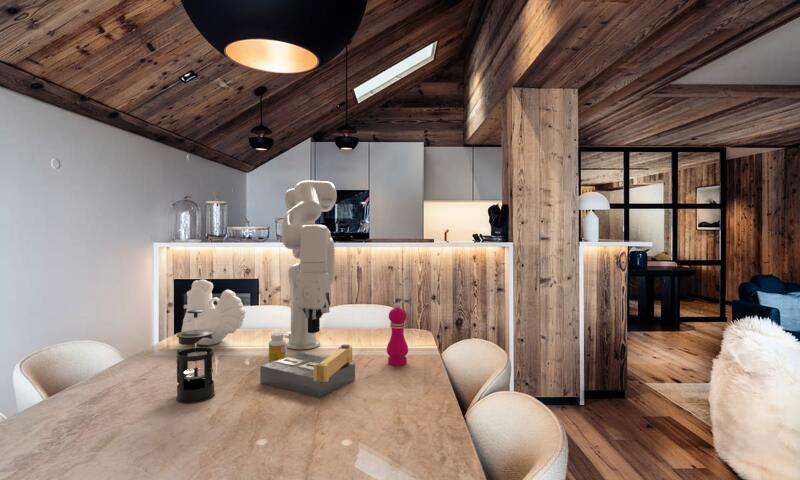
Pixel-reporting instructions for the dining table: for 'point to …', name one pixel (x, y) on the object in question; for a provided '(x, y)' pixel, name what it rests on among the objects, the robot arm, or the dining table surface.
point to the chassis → (304, 375)
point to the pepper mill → (397, 337)
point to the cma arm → (333, 363)
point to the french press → (196, 380)
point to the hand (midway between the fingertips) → (313, 332)
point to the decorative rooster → (213, 312)
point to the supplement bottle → (277, 347)
